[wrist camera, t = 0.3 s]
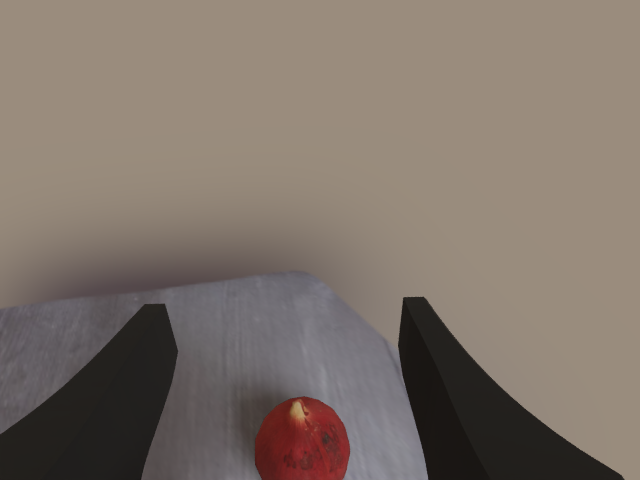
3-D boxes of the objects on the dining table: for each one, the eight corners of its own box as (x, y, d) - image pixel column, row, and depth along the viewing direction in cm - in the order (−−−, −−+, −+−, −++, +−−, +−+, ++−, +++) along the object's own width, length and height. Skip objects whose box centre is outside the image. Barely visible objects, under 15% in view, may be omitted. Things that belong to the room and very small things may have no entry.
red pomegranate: (364, 469, 31) (371, 400, 26) (310, 547, 27) (307, 482, 22) (299, 421, 33) (294, 350, 29) (242, 485, 30) (225, 416, 25)
